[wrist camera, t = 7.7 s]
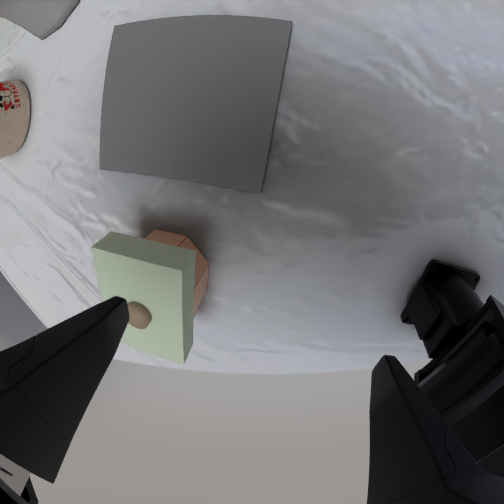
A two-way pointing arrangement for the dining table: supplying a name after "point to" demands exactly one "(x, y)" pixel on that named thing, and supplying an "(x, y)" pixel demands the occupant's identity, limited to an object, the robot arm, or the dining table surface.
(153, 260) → the lid
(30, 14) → the flask
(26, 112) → the teacup with lid
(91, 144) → the dining table surface
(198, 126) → the mat
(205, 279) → the bowl
